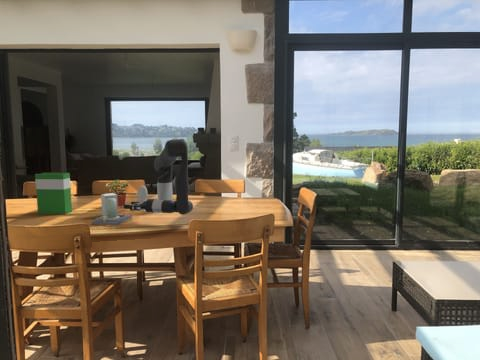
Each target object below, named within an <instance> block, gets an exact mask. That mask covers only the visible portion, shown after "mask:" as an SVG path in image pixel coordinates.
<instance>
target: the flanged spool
mask: <svg viewBox="0 0 480 360" xmlns="http://www.w3.org/2000/svg"><path fill="white" fill-rule="evenodd" d="M119 218H120V216H117V208H116V199H115V198H110V199H107V216H106V219H112V220H117V219H119Z"/></svg>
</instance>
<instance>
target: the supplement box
mask: <svg viewBox="0 0 480 360" xmlns="http://www.w3.org/2000/svg"><path fill="white" fill-rule="evenodd" d="M100 196H101V197H100V201H101V216H104V215H106V214H107V199H110V198H115V199H116V208H117V214H119V209H118V207H119V206H118V204H119V203H118V193H117V194H116V193H114V192H113V193H112V192H111V193H104V194H103V193H102V194H100Z"/></svg>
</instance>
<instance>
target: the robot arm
mask: <svg viewBox="0 0 480 360" xmlns="http://www.w3.org/2000/svg"><path fill="white" fill-rule="evenodd" d="M188 151H189V149H188V145H187V141H186V139H184V138H177V139H168V140H166V142H165V144H164V147H163V149H162V150H161V152H160V154H159V155H158V156H156V157H155V159H154V161H153V167H154V170H155V171H156V172H159V173H161V172H165V173H164V174H163V175H161V176H158V177H157V179H156V183H157V184H156V186H157V188H156V189H157V198H147V199H146V201H138V202H137V201H131V202H130V204H123V209H125V210H127V209H128V210H129V211H137V210H138V212H139V211H140V210H143V209H145V210H144V211H145V212H146V213H147V214H172V213H173V214H174V213H178V214H179V215H182V216H183V215H187V214H190V213H191V212H192V211H193V210H194V204H193V203H192V201H191V200H189V195H190V184H189V173H188V171H189V170H188V169H189V168H188V167H189V157H188ZM178 158H181V163H180V166H179V169H178V171H177V174H176V175H175V178H174V184H175V185H174V186H175V193H176V194H175V195H176V198H175V200H174V199H173V164H174V163H175V162H176V161H177V159H178ZM140 212H141V211H140Z"/></svg>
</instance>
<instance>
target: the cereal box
mask: <svg viewBox="0 0 480 360" xmlns="http://www.w3.org/2000/svg"><path fill="white" fill-rule="evenodd" d="M34 177H35V190H36V191H35V192H36V205H37V206H36V207H37V214H42V215H45V214H46V215H67V214H70V213H72V212H73V206H72V191H71V174H70V172H41V173H35V174H34Z"/></svg>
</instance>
